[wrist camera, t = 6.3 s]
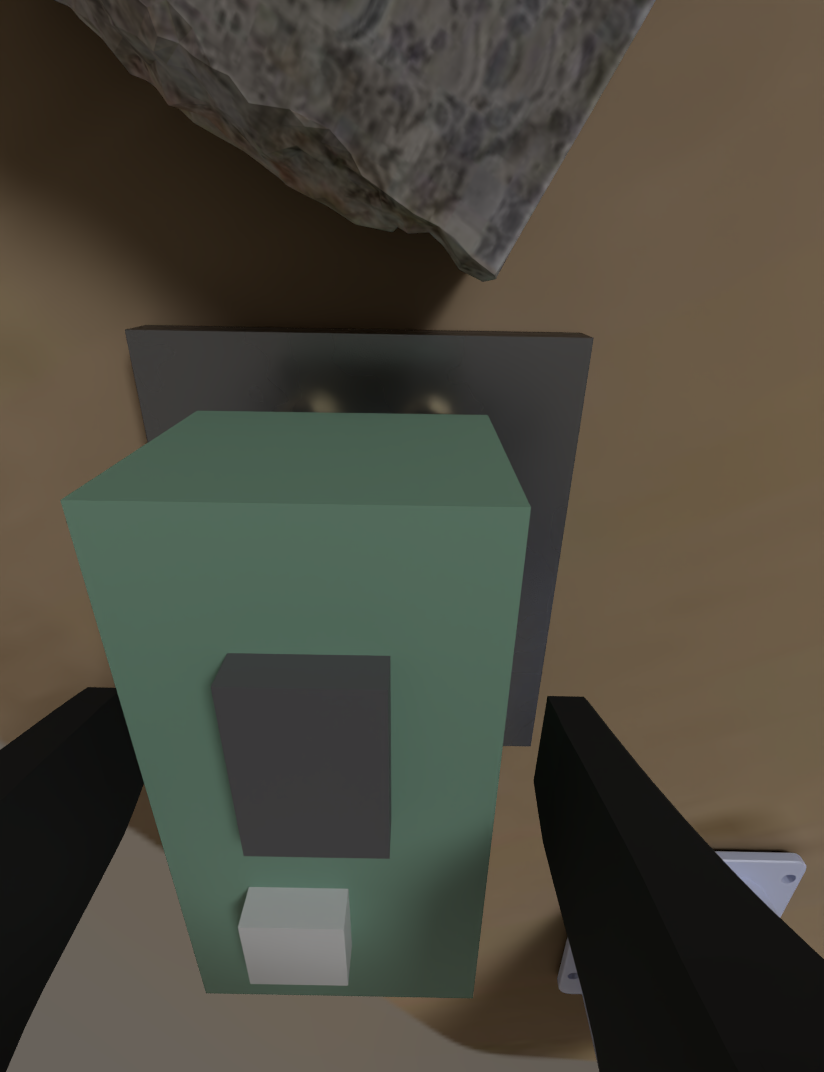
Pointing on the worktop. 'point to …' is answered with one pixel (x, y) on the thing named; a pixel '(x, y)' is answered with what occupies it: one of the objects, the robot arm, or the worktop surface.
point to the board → (315, 684)
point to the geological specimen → (387, 98)
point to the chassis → (401, 388)
